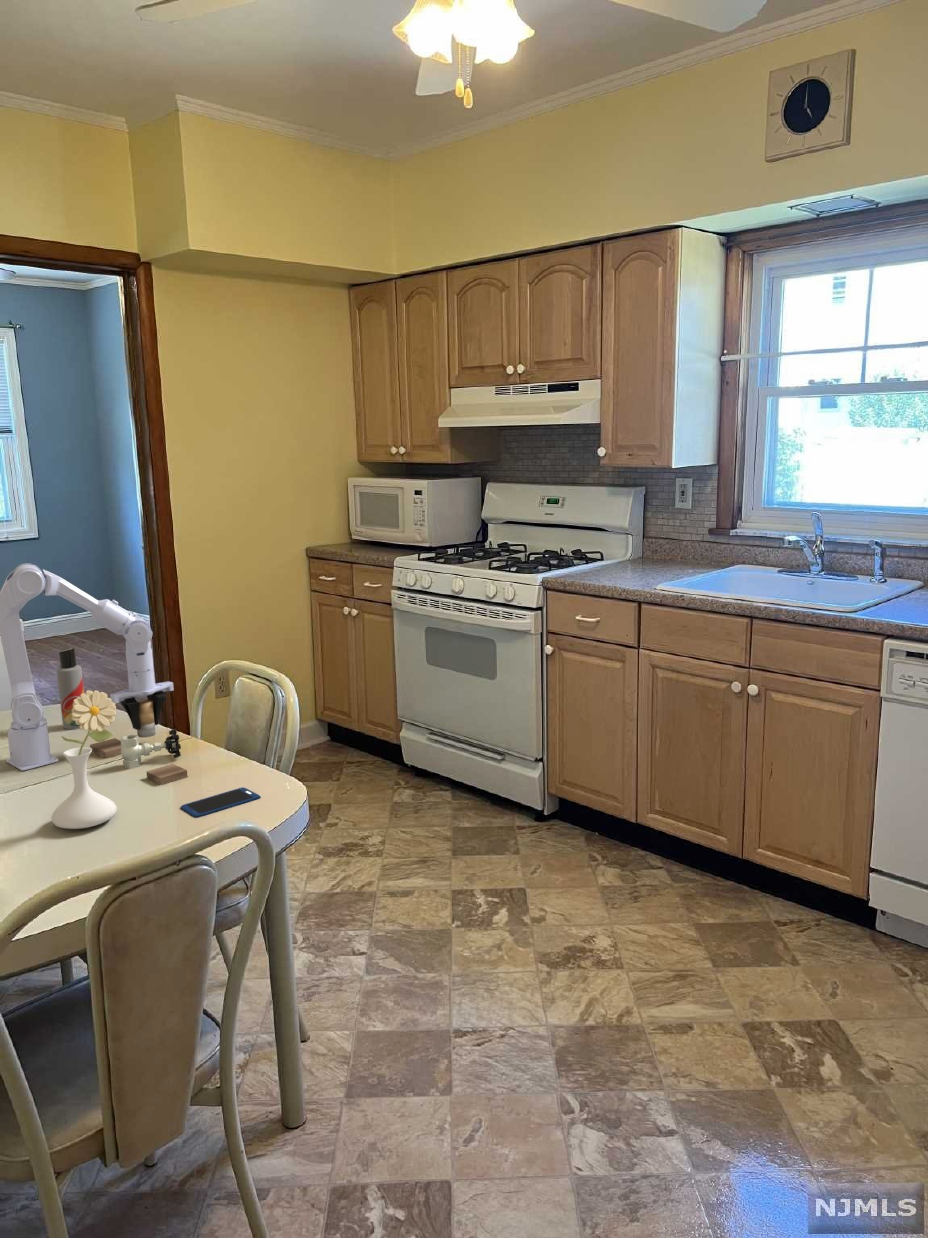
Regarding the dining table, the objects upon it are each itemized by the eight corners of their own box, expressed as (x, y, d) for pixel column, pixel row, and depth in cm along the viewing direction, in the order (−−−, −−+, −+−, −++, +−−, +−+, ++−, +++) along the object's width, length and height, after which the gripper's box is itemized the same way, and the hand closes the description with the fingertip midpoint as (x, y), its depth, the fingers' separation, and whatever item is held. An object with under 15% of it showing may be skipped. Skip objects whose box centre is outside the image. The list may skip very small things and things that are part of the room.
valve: (125, 772, 198) (182, 761, 204) (122, 743, 196) (179, 732, 202) (119, 763, 203) (174, 753, 209) (116, 735, 202) (171, 725, 208)
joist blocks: (90, 750, 212) (89, 744, 212) (115, 744, 216) (114, 738, 216) (161, 785, 189) (160, 778, 189) (187, 776, 194) (186, 770, 193)
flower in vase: (52, 840, 164) (35, 704, 159) (52, 817, 175) (36, 689, 170) (129, 826, 169) (115, 694, 165) (125, 804, 180) (112, 680, 175)
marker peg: (134, 735, 215) (131, 702, 214) (150, 731, 218) (147, 698, 216) (142, 738, 212) (139, 705, 211) (158, 734, 215) (155, 701, 214)
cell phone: (262, 799, 181) (262, 796, 181) (196, 820, 172) (195, 816, 172) (244, 790, 186) (243, 786, 186) (179, 809, 177) (178, 806, 177)
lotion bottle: (81, 729, 228) (73, 650, 225) (59, 730, 229) (50, 651, 225) (91, 722, 234) (82, 645, 230) (69, 723, 234) (60, 646, 230)
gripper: (118, 678, 204) (124, 737, 207) (178, 666, 214) (182, 722, 217) (104, 673, 209) (109, 731, 212) (163, 661, 219) (168, 716, 222)
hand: (145, 726), depth 215 cm, fingers closed on marker peg, 4 cm apart
